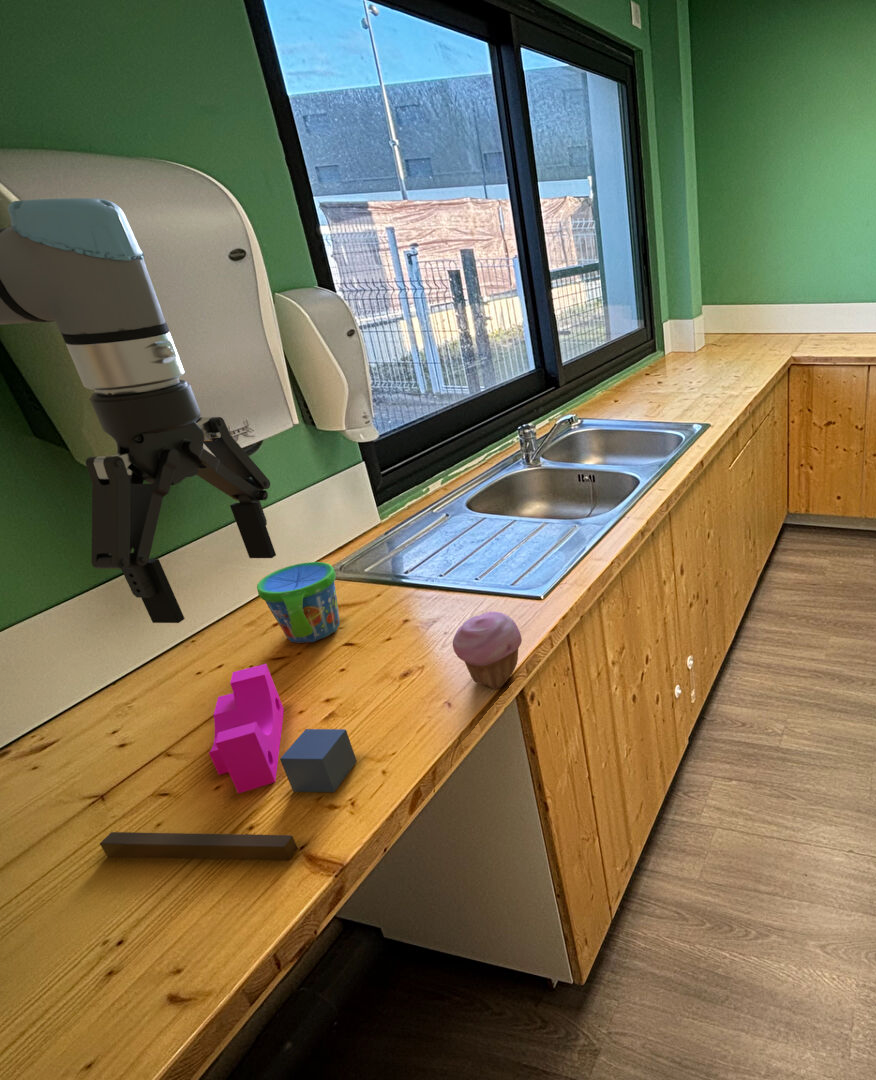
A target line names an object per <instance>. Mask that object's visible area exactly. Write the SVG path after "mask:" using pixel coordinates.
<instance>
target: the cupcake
mask: <svg viewBox="0 0 876 1080" xmlns="http://www.w3.org/2000/svg"><path fill="white" fill-rule="evenodd" d="M455 632H456V633H454V637H453V639H452V649H453V651H454V654H455V655H456V656H457V658H458V659H459V660H460V661H462V662H464V664H465V665H466V668H467V671H468V673H469V675H470V677H471V679H472V680H473V682H475V683H477V684H480V685H482V686H486V687H489V688H491V689H500V688H502V687H503V686H504V685H505V684H506V682H507V681H508V679H509V677H511V676H512V675H513V673H514V671H515V669H516V667H517V665H518V662H519V661H518V660H519V648H520V646H521V645H522V642H523V638H522V634H521V631H520V629H519V626H518V625H517V623H516V622H515V620H514V619H512V618H511V617H510V616H509V615H507V614H506V613H504V612H501V611H487V612H484V613H481V614H479V615H475V616H472V617H469V618H468V619H467V620H465V621H464V622H463V623H462V625H460V626H459V627H458V629H457V630H456V631H455Z"/></svg>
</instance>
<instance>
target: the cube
mask: <svg viewBox="0 0 876 1080" xmlns="http://www.w3.org/2000/svg"><path fill="white" fill-rule="evenodd" d="M279 761H280V763H281V765H282V768H283V770H284V772H285V773H284V774H285V776H286V778H287V780H288V783H289V785H290V788H291V790H292V792H293V793H335V792H336V791H337V790H338V788H339V787H340V786H341V784H342V783H343V781H344V780H345V779H346V777H347V776H348V775H349V773H350V771H351V770H352V769H353V768H354V766H355V765H356V763H357V762H358V760H357V758H356V754H355V752H354V749H353V745H352V743H351V740H350V737H349V734H348V731H347V729H346V728H341V729H340V728H305V729H304V730H303V732H302V733H301V734H300V735H299V736H298V737H297V738H296V740H295V741H294V742H293V743H292V744H291V745H290V747H289V748H288V749H287V750H286V751H285V753H283V754H282V756H281V757H280V758H279Z"/></svg>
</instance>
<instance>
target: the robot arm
mask: <svg viewBox="0 0 876 1080" xmlns="http://www.w3.org/2000/svg"><path fill="white" fill-rule="evenodd" d="M7 212H8V215H9V219H10V225H11V226H10V227H4V228H0V326H3V325H4V326H5V325H15V324H17V325H19V324H29V323H31V324H32V323H52V322H55V324H56V326H57V328H58V329H57V330H58V331H59V333H60V335H61V336H62V338H63V341H64V343H65V346H66V348H67V350H68V353H69V356H70V357H71V361H72V362H73V364H74V367H75V369H76V372H77V374H78V376H79V378H80V382H81V384H82V386H83V387H84V388H85V389H88V390H90V391H93V393H92V394H91V397H90V398H89V401H90V403H91V404H90V405H92V408H93V410H94V413H95V416H96V418H97V419H98V422H99V424H100V426H101V429H102V430H103V432H104V433H105V434H107V435H109V436H110V437H111V438H112V439H113V440H114V441H115V443H116V447H117V448H116V450H117V451H116V453H115V454H110V455H105V456H103V455H101V456H89V457H87V458H86V460H85V466H86V469H87V472H88V475H89V478H90V481H91V486H92V487H91V491H92V492H91V493H92V495H91V501H92V502H91V561H90V562H91V566H92V568H94V569H98V570H99V569H100V570H101V569H103V570H104V569H105V570H106V569H107V570H115V569H116V570H117V569H119V570H121V572H122V574H123V576H124V578H125V581H126V583H127V584H128V587H129V589H130V592H131V593H132V595H133V596H134V597H136V598H140V599H141V600H142V603H143V605H144V607H145V610H146V612H147V613H148V616H149V618H150V621H151V623H153V624H180V623H181V622H183V621H184V620H185V619H186V618H185V616H184V614H183V610H181V607H180V604H179V602H178V600H177V598H176V596H175V593H174V591H173V589H172V586H171V583H170V582H169V579H168V577H167V575H166V573H165V570H164V567H163V565H162V564H161V561H160V559H159V558H150V556H151V552H152V547H153V544H154V538H155V535H156V531H157V527H158V521H159V518H160V512H161V508H162V504H163V500H164V497H165V496H167V495H168V494H169V493H170V490H171V488H172V487H171V486H175V485H177V484H180V483H181V482H182V481H184V480H185V479H187V478H192V477H195V476H197V477H199V478H201V479H202V480H203V481H205V482H206V483H208V484H210V485H211V486H213V487H214V488H216V489H218V490H219V491H221V492H222V493H224V494H225V495H227V496H229V498H232V499H233V500H235V501H237V502H233V503H232V504H230V505H229V508H230V509H231V512H232V515H233V518H234V521H235V523H236V525H237V528H238V531H239V533H240V537H241V539H242V542H243V544H244V547H245V550H246V552H247V555H248V558H249V559H273V558H274V557H276V556H277V554H276V551H275V547H274V545H273V542H272V539H271V536H270V534H269V531H268V528H267V525H268V522H267V518H266V514H265V512H264V509H263V505H262V503H261V501H266V500H268V497H269V493H268V491H267V490H268V489H269V488H270V487H271V481H270V479H269V478H268V477H267V476H266V475H265V474H264V473H263V471H262V470H261V468H259V466H258V465H257V464H256V463H255V461H254V460H253V459H252V458H251V457H250V456H249V455H248V454H247V453H246V451H245V450H244V449H243V447H242V446H241V445H240V444H239V443H238V442H237V441H236V440H235V438H234V437H233V436H232V435H231V432H230V429H228V426H227V424H226V422H225V419H224V418H222V417H221V416H205V417H204V416H202V417H201V415H202V414H201V410H200V408H199V405H198V402H197V399H196V397H195V393H194V391H193V388H192V385H191V384H190V383H189V382H188V381H187V380H185V379H180V377H183V375H184V374H185V369H184V367H183V364H182V361H181V359H180V355H179V353H178V350H177V348H176V345H175V343H174V339H173V337H172V335H171V332H170V329H169V326H168V324H167V321H166V319H165V316H164V314H163V310H162V309H161V308H162V307H161V305H160V302H159V300H158V297H157V294H156V291H155V288H154V285H153V282H152V279H151V276H150V274H149V270H148V268H147V265H146V262H145V258H146V257H145V254H144V252H143V251H142V249H141V248H140V246H139V244H138V241H137V239H136V236H135V234H134V232H133V229H132V228H131V225H130V223H129V221H128V218H127V216H126V214H125V213H124V211H123V209H121V207H120V206H119V205H118V204H117V203H115V202H113V201H111V200H108V199H105V198H94V197H93V198H91V197H90V198H87V197H84V198H82V197H81V198H80V197H79V198H77V197H76V198H74V197H73V198H72V197H71V198H37V199H23V200H14V201H12V202H10V203H9V204H8V206H7ZM204 445H205V447H206V448H207V449H208V450H207V449H205V447H204ZM209 451H210V452H209ZM144 481H145V482H146V483H144ZM132 550H133V552H132Z"/></svg>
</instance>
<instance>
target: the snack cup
mask: <svg viewBox="0 0 876 1080" xmlns="http://www.w3.org/2000/svg"><path fill="white" fill-rule="evenodd" d="M336 576H337V575H336V571H335V568H334V566H332V565H331V564H330V563H328V562H322V561H310V562H302V563H296V564H292V565H288V566H286V567H283V568H279V569H277V570H275V571H272V572H271V573H269V574H267V575H266V576H264V577H263V578H262V579H261V580H259V582H258V583H257V585H256V590H257V594H258V596H259V598H260V599H261V600H263V601H265V604H266V605H267V607H268V609H269V610H270V612H271V614H272V615H273V617H274V619H275V621H276V622H277V623H278V625H279V627H280V628H281V630H282V631H283V634H284V635H285V637H286V638H287V640H288V641H289V642H291V643H296V644H307V643H311V644H313V643H315V642H317V641H319V640H322V639H325V638H326V637H328V636H330V635H331V634H333V633H336V632H337V630H338V628H339V626H340V612H339V611H340V610H339V604H338V597H337V589H336V584H335V581H336Z"/></svg>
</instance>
